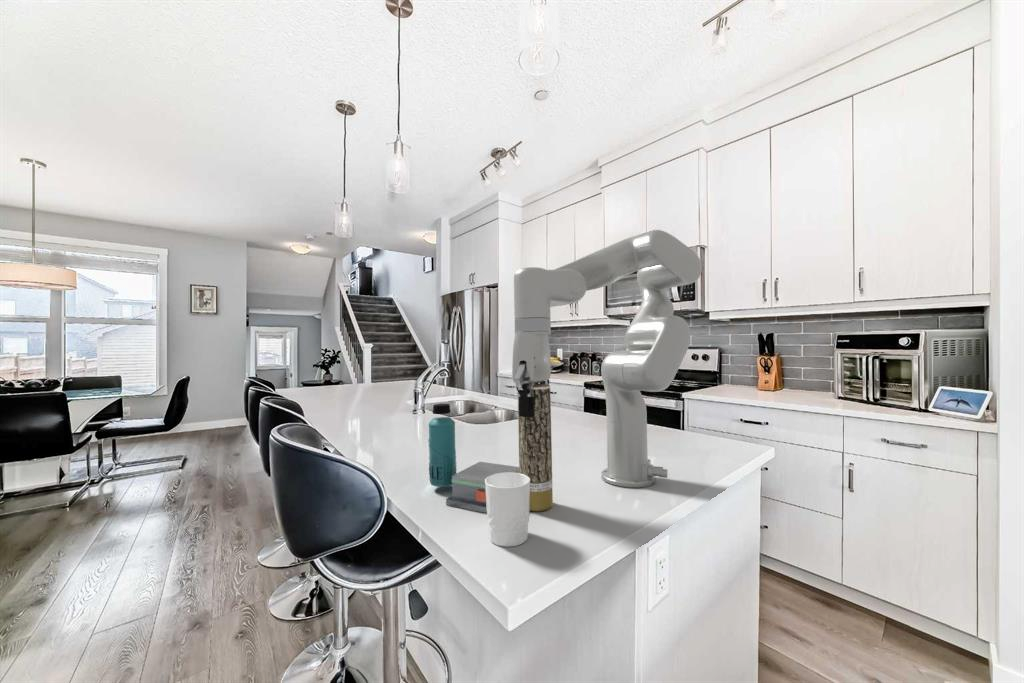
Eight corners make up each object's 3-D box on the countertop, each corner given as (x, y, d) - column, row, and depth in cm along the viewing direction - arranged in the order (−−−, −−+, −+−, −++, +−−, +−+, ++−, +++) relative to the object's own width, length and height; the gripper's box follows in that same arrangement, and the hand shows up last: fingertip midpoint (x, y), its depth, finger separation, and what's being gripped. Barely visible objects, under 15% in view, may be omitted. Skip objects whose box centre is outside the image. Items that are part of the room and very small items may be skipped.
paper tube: (558, 503, 82) (555, 384, 82) (544, 515, 76) (541, 387, 76) (529, 497, 85) (527, 383, 85) (514, 508, 79) (511, 386, 80)
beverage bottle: (460, 483, 94) (458, 401, 95) (453, 494, 88) (451, 405, 88) (433, 483, 95) (432, 401, 95) (425, 493, 88) (423, 405, 89)
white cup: (476, 537, 67) (475, 480, 68) (509, 522, 73) (508, 469, 73) (508, 554, 62) (506, 491, 62) (540, 536, 67) (539, 479, 67)
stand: (527, 493, 87) (527, 466, 87) (499, 516, 76) (499, 485, 76) (478, 485, 93) (478, 460, 93) (446, 505, 82) (445, 476, 82)
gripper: (533, 330, 90) (534, 406, 90) (496, 327, 75) (498, 419, 75) (563, 328, 87) (565, 408, 87) (531, 325, 72) (533, 422, 71)
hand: (534, 412), depth 81 cm, fingers closed on paper tube, 6 cm apart
